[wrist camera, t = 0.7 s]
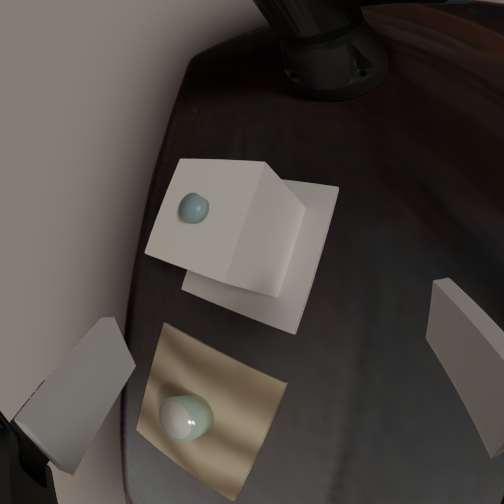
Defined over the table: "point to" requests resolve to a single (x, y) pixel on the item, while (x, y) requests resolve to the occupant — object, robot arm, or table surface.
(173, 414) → the pale green cylinder
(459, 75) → the table surface
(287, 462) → the table surface
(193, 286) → the grey mat
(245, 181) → the dust cover
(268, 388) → the birch board
